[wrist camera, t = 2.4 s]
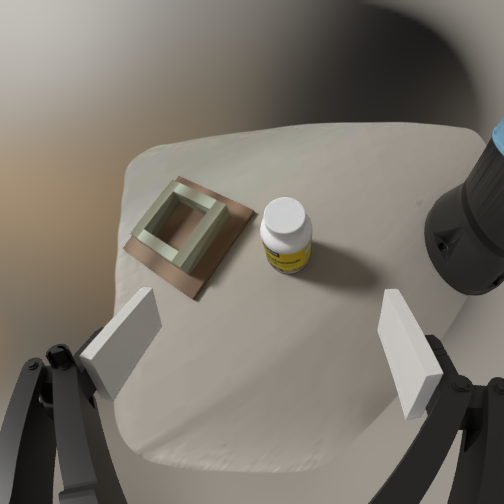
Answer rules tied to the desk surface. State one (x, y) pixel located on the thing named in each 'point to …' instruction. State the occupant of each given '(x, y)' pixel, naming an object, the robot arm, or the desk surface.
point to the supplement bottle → (286, 235)
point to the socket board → (187, 234)
